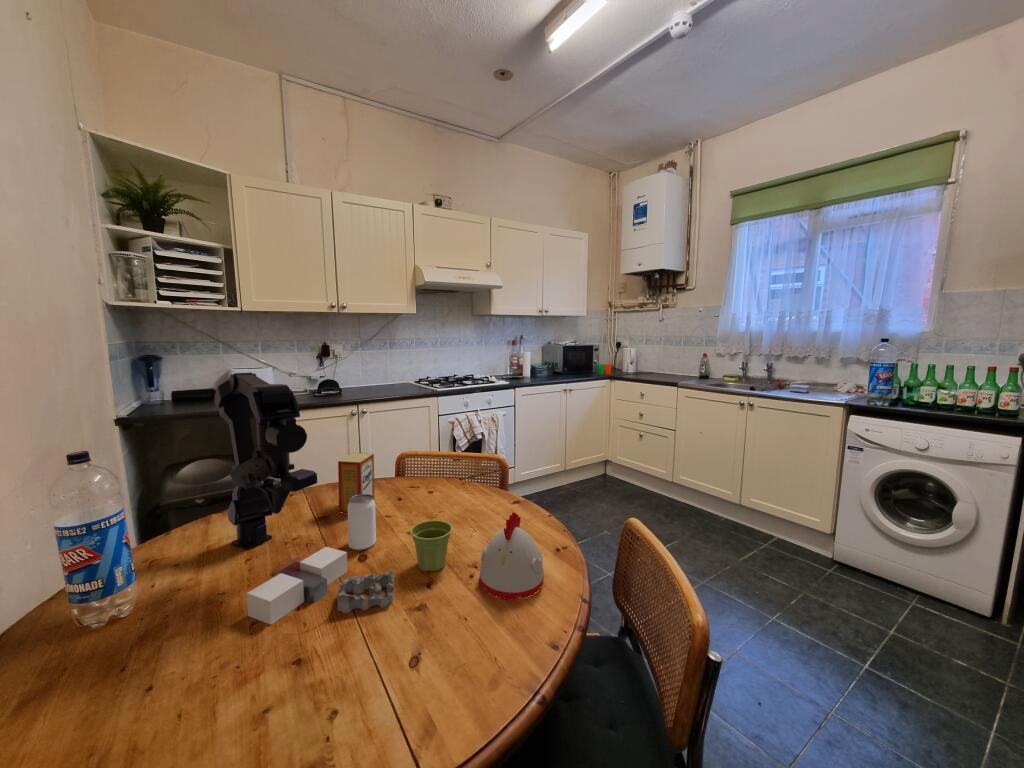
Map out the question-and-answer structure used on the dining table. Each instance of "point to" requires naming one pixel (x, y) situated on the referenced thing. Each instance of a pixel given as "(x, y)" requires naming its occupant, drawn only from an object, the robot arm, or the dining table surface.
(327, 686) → the dining table surface
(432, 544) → the plant pot
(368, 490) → the baking soda box
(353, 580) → the egg carton
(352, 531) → the can
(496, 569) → the kitchen timer
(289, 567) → the l-shaped block
